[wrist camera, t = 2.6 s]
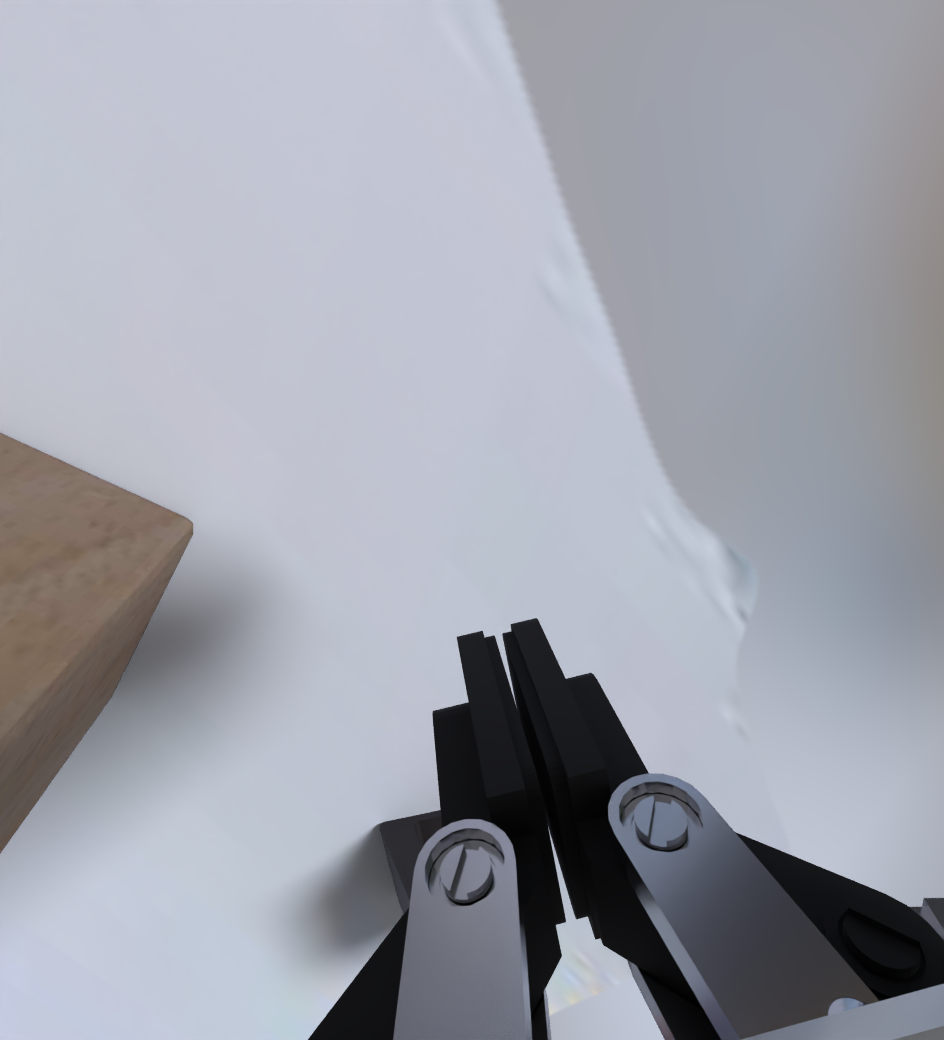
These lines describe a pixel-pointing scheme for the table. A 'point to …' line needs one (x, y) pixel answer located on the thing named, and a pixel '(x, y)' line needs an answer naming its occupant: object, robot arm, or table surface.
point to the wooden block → (68, 608)
